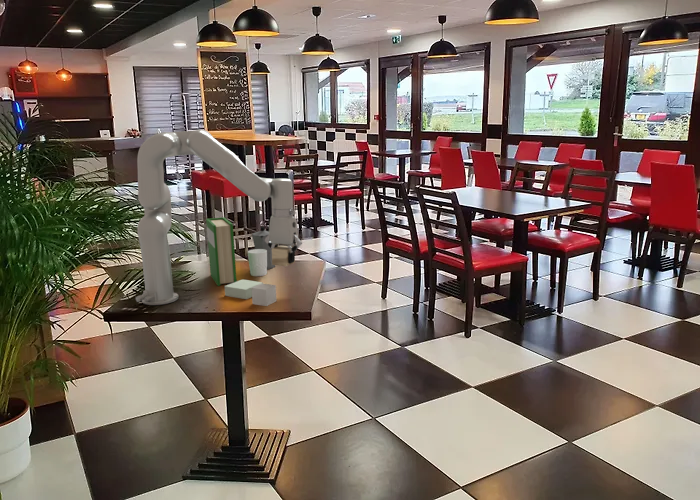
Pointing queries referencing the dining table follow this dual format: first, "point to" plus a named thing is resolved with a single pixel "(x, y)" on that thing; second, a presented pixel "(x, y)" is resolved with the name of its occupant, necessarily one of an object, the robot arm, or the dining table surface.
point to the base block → (241, 289)
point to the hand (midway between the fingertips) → (283, 261)
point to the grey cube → (264, 294)
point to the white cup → (257, 262)
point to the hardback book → (221, 250)
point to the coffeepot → (263, 245)
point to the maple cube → (280, 256)
